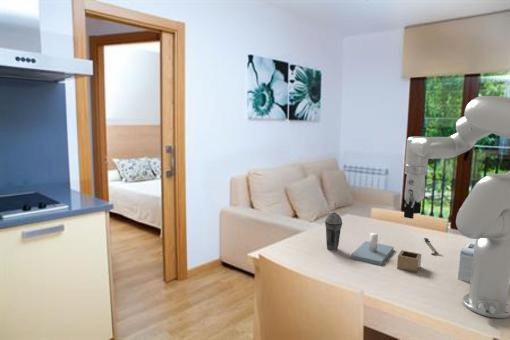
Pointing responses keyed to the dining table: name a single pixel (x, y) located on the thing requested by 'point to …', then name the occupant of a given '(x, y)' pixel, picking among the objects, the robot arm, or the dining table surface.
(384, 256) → the post board
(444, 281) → the dining table surface
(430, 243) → the tactical tomahawk
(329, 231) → the beverage cup
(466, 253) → the light bulb box
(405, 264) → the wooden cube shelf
